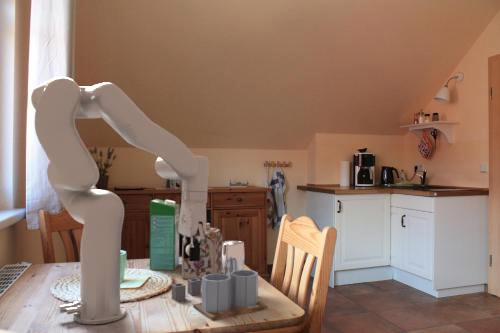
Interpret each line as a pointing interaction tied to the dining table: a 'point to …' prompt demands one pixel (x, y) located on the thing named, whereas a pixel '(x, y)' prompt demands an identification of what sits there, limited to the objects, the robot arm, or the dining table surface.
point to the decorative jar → (205, 256)
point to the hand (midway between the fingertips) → (191, 258)
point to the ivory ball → (188, 249)
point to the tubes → (229, 290)
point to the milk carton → (164, 235)
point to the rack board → (230, 310)
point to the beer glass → (232, 256)
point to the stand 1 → (178, 292)
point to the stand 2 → (194, 286)
